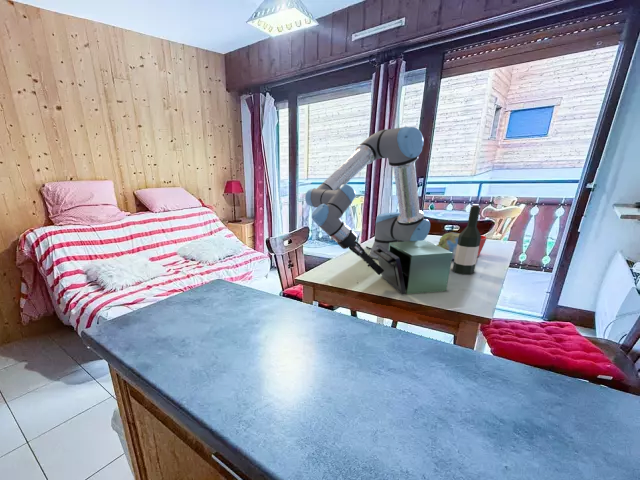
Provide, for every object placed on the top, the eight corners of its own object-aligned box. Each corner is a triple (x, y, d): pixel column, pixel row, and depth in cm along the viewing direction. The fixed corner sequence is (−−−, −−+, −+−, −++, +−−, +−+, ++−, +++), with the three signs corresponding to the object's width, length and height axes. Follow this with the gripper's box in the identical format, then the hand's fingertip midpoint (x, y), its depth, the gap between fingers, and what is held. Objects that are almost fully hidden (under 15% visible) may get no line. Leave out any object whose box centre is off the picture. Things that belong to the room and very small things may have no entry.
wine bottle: (472, 275, 144) (487, 206, 132) (451, 272, 148) (463, 205, 137) (474, 269, 150) (488, 203, 139) (453, 267, 154) (465, 202, 143)
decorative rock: (469, 231, 154) (460, 225, 168) (432, 240, 160) (427, 234, 173) (474, 258, 157) (465, 251, 171) (438, 266, 163) (432, 259, 177)
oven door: (396, 296, 130) (389, 261, 124) (377, 278, 148) (370, 247, 143) (406, 293, 130) (399, 257, 124) (385, 276, 148) (378, 244, 142)
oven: (406, 294, 130) (411, 255, 124) (385, 276, 148) (389, 242, 142) (446, 291, 130) (453, 252, 124) (420, 274, 149) (425, 240, 143)
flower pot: (482, 252, 172) (486, 234, 169) (482, 258, 164) (486, 239, 160) (459, 250, 178) (462, 233, 174) (458, 256, 169) (461, 237, 166)
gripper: (332, 239, 137) (368, 273, 143) (341, 247, 125) (380, 284, 131) (345, 225, 135) (381, 261, 142) (355, 232, 123) (394, 271, 129)
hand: (381, 272), depth 136 cm, fingers closed
